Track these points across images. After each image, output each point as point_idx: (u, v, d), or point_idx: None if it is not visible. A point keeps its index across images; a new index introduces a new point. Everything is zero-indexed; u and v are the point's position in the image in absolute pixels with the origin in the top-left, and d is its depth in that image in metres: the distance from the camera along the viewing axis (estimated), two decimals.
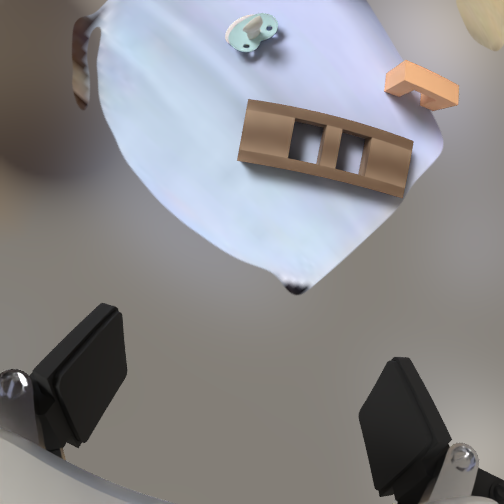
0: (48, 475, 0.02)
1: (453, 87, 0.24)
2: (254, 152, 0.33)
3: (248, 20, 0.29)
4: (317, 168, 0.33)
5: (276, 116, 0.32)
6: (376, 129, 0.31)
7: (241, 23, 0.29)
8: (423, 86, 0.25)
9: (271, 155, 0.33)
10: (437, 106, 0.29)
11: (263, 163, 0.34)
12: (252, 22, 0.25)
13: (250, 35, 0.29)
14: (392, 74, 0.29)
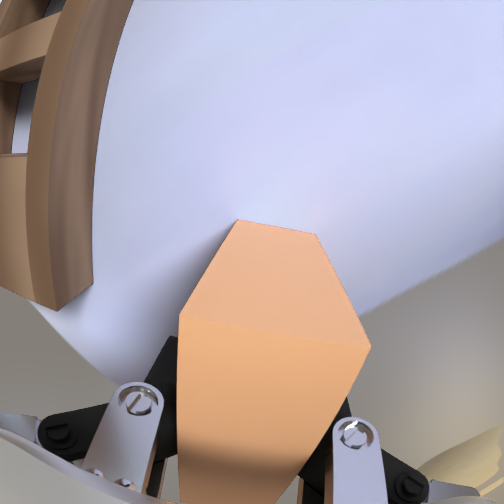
0: (48, 475, 0.02)
1: None
2: None
3: None
4: None
5: None
6: (45, 169, 0.08)
7: None
8: (186, 422, 0.05)
9: None
10: None
11: None
12: None
13: None
14: (296, 251, 0.08)
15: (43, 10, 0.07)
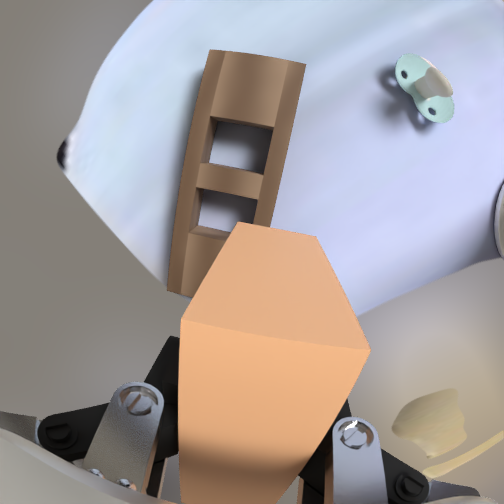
0: (48, 475, 0.02)
1: None
2: (220, 70, 0.20)
3: None
4: (195, 160, 0.22)
5: (276, 100, 0.20)
6: None
7: None
8: (188, 424, 0.05)
9: (215, 94, 0.20)
10: None
11: (203, 83, 0.20)
12: (442, 78, 0.15)
13: (421, 81, 0.18)
14: (297, 253, 0.08)
15: (214, 133, 0.24)
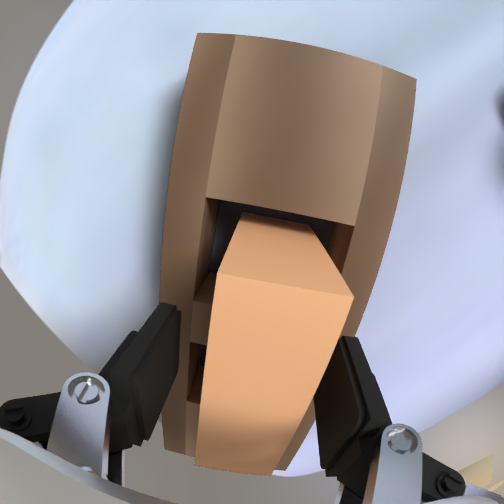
0: (48, 475, 0.02)
1: (254, 464, 0.08)
2: (225, 81, 0.08)
3: None
4: (182, 294, 0.11)
5: (361, 160, 0.09)
6: (308, 425, 0.13)
7: None
8: (212, 369, 0.07)
9: (215, 140, 0.09)
10: None
11: (184, 113, 0.09)
12: None
13: None
14: (294, 236, 0.10)
15: (216, 217, 0.13)
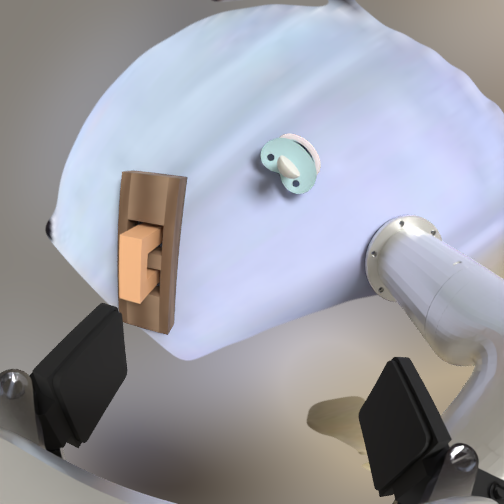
0: (48, 475, 0.02)
1: (134, 295, 0.33)
2: (130, 187, 0.33)
3: (308, 160, 0.32)
4: None
5: (163, 207, 0.33)
6: (167, 301, 0.37)
7: (304, 152, 0.32)
8: (120, 256, 0.31)
9: (129, 204, 0.34)
10: None
11: (121, 196, 0.33)
12: (284, 168, 0.28)
13: None
14: (149, 228, 0.35)
15: (136, 223, 0.37)
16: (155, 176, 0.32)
